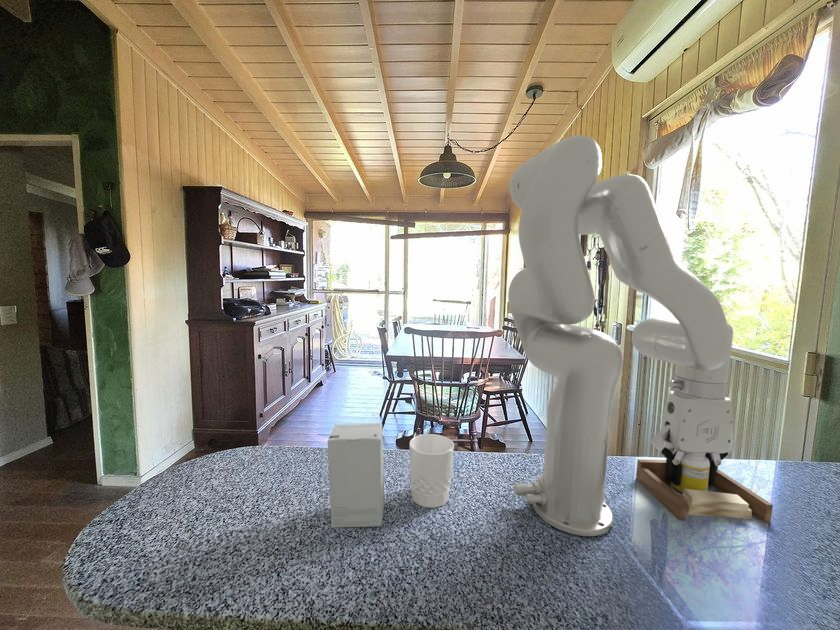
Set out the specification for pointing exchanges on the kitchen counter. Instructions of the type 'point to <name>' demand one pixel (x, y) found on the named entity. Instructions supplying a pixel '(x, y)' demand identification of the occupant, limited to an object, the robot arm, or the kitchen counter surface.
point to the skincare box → (356, 475)
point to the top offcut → (715, 500)
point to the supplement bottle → (693, 473)
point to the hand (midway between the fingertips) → (689, 480)
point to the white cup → (431, 469)
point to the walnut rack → (654, 482)
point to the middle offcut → (715, 511)
